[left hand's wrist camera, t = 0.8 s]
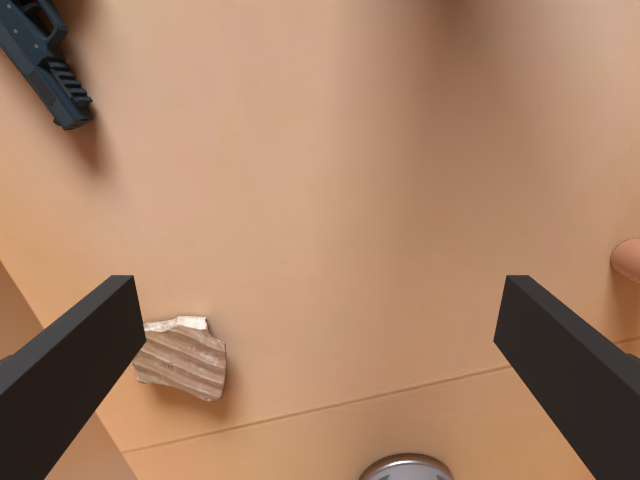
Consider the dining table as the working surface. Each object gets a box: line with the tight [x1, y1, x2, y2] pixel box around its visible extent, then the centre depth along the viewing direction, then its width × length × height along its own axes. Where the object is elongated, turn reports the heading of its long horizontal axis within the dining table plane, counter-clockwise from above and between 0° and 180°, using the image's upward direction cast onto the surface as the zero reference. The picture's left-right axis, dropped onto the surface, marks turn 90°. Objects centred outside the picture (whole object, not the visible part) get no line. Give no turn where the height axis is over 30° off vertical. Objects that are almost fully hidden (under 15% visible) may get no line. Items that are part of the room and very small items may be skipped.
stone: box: [132, 316, 227, 402], centre depth 46 cm, size 13×12×3 cm
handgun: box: [0, 0, 93, 130], centre depth 32 cm, size 3×18×12 cm
